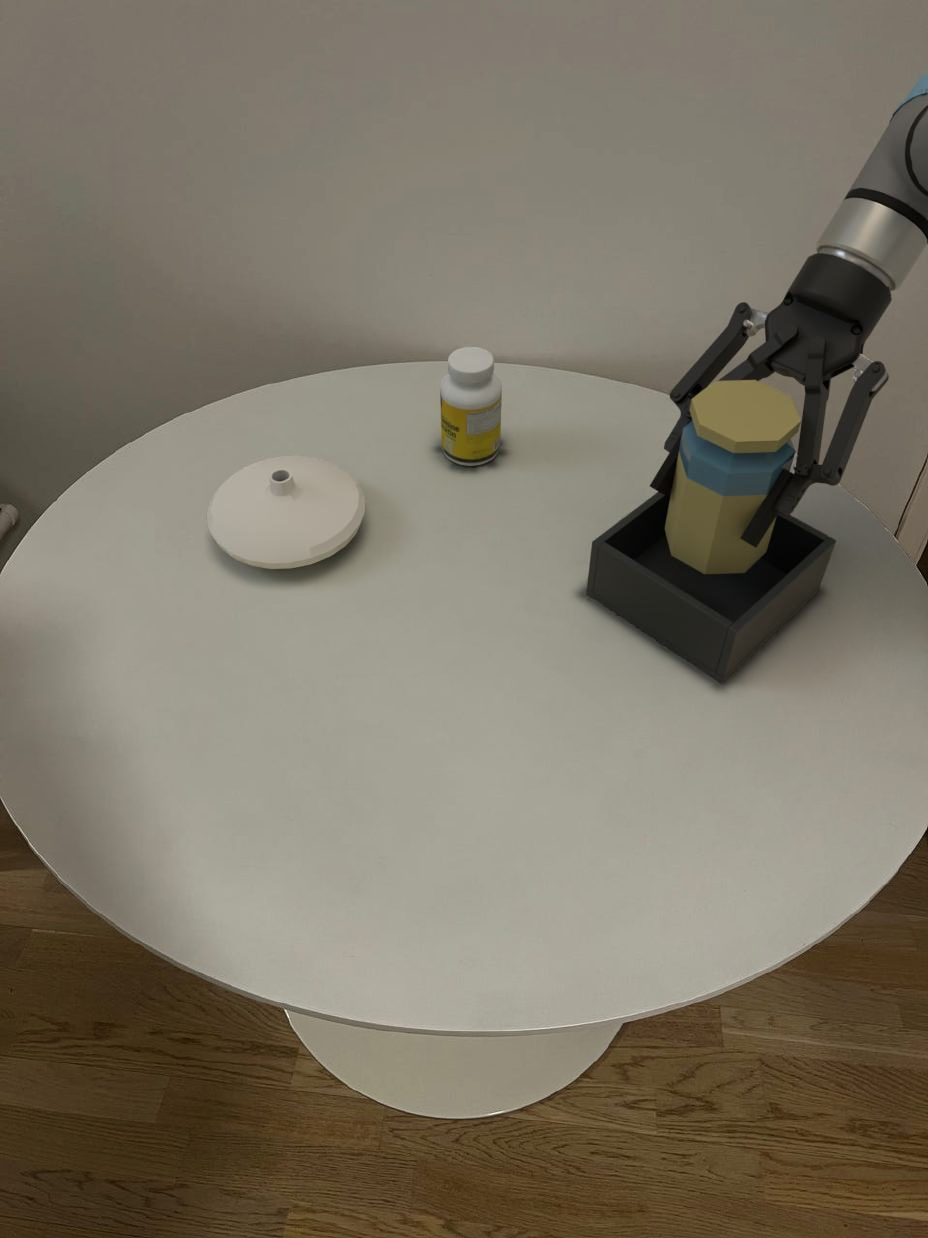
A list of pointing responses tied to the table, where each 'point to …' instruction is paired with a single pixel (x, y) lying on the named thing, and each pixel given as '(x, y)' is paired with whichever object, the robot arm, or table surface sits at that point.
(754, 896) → the table surface
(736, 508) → the jar
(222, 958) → the table surface
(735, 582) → the bin
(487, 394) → the pill bottle
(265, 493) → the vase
